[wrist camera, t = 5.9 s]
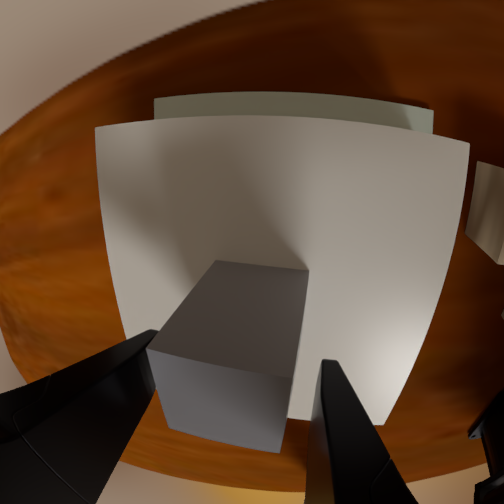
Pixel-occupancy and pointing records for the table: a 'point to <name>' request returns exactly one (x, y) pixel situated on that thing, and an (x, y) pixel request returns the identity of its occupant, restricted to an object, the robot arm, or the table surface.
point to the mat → (296, 108)
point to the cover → (276, 260)
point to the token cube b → (488, 211)
